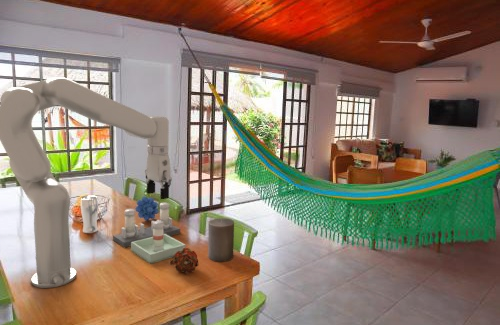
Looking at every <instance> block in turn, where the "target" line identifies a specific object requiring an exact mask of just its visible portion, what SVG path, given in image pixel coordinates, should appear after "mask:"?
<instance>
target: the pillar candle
mask: <svg viewBox="0 0 500 325" xmlns="http://www.w3.org/2000/svg"><path fill="white" fill-rule="evenodd" d="M207 224H208V234H207V235H208V237H207V238H208V243H207V248H208V249H207V257H208V258H209V260H210V261H213V262H219V263H220V262H228V261H230V260H233V259H234V245H235V244H234V243H235V239H234V238H235V221H234V220H232V219H231V218H223V217H221V218H220V217H219V218H212V219H210V220H209V221H208V223H207Z"/></svg>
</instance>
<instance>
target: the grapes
mask: <svg viewBox="0 0 500 325" xmlns="http://www.w3.org/2000/svg"><path fill="white" fill-rule="evenodd" d="M136 204H137V206H135V213H137V216H138V218H140V219H143V220H144V221H149V220H150V219H151V220H155V218H156V215H157V214H159V213H160V210H159V209H158V207H159V203H158V202H157V201H155V199H154V198H153V197H147V196H143V197H142V198H141V199H138V200H137V201H136Z"/></svg>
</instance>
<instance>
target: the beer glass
mask: <svg viewBox="0 0 500 325" xmlns="http://www.w3.org/2000/svg"><path fill="white" fill-rule="evenodd" d="M98 198H99V197H98V196H96V195H84V196H81V198H80V212H81V216H82V222H83V225H82V226H83V227H82V233H84V234H94V233H96V232H98V231H99V229H98V223H97V222H98V215H99V199H98Z"/></svg>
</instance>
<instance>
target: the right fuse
mask: <svg viewBox="0 0 500 325" xmlns="http://www.w3.org/2000/svg"><path fill="white" fill-rule="evenodd" d="M169 217H170V203H169V202H160V203H159V220H160V221H163V222H164V228H163V230H165V229H169Z"/></svg>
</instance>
